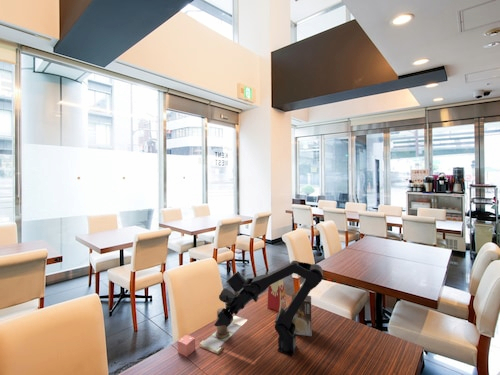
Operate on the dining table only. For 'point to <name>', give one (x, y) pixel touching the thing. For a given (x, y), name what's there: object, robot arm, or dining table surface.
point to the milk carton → (277, 296)
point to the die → (186, 345)
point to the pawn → (221, 329)
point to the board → (215, 343)
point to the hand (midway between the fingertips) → (219, 319)
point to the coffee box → (303, 318)
